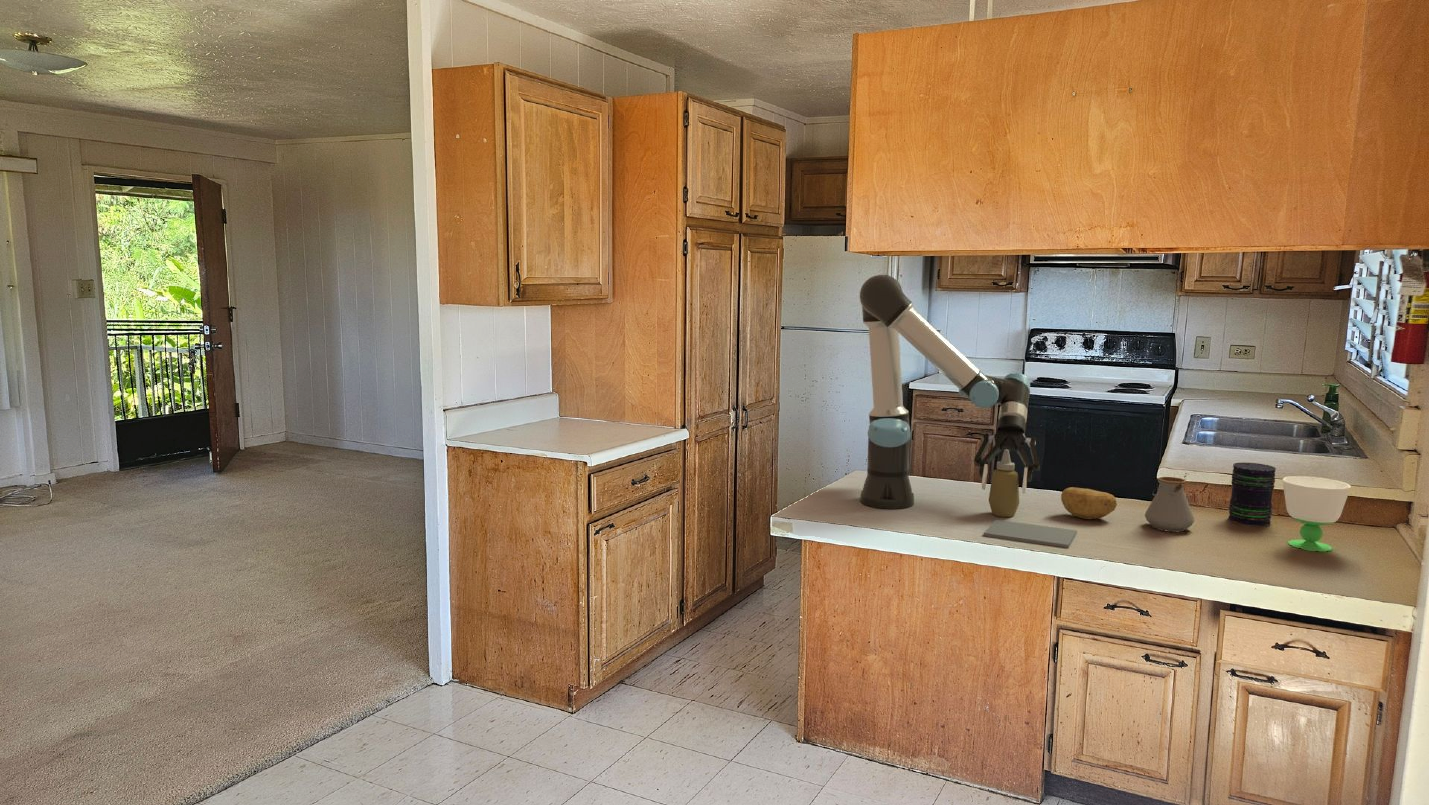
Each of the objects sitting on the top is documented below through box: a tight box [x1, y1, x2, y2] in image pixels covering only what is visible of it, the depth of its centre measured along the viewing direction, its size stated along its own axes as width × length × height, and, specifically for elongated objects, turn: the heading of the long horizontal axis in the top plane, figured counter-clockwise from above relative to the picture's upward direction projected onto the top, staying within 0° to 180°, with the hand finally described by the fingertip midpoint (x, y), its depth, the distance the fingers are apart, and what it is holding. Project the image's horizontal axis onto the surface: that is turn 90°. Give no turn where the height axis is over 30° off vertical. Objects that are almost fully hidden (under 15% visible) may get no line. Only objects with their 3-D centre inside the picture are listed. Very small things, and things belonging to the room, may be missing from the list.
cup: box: [1281, 475, 1352, 553], centre depth 215 cm, size 14×14×16 cm
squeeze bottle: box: [988, 449, 1020, 518], centre depth 242 cm, size 8×8×18 cm
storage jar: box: [1228, 462, 1277, 527], centre depth 237 cm, size 10×10×15 cm
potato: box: [1060, 486, 1118, 520], centre depth 240 cm, size 10×14×8 cm
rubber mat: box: [983, 519, 1078, 549], centre depth 225 cm, size 20×14×1 cm
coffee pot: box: [1144, 476, 1195, 533], centre depth 226 cm, size 21×12×15 cm, turn 159°
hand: (1003, 488), depth 240 cm, fingers open, 10 cm apart
